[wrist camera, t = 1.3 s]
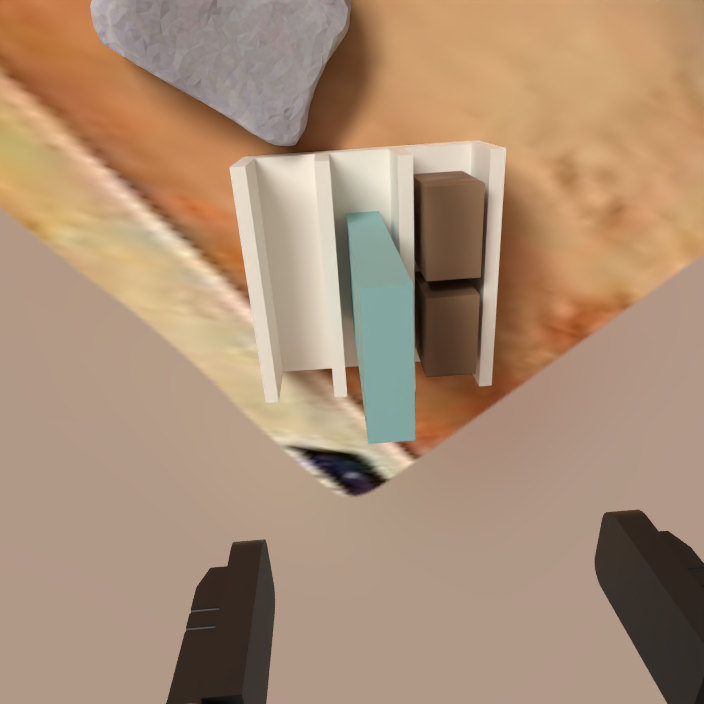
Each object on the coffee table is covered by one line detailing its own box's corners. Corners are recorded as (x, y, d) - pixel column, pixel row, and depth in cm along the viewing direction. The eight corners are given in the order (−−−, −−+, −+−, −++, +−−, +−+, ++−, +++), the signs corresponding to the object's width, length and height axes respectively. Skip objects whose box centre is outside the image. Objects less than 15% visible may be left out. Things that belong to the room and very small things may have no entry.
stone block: (168, -135, 28) (95, 51, 29) (152, -201, 23) (66, 24, 25) (365, 1, 31) (289, 161, 33) (385, -32, 26) (295, 155, 28)
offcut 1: (462, 170, 31) (485, 183, 27) (459, 253, 34) (480, 277, 29) (411, 174, 31) (426, 187, 27) (412, 256, 34) (426, 281, 29)
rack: (478, 140, 32) (506, 147, 27) (470, 348, 38) (491, 385, 33) (244, 156, 32) (229, 167, 27) (273, 363, 38) (265, 402, 33)
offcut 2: (459, 268, 34) (479, 294, 30) (457, 339, 36) (476, 373, 32) (412, 271, 34) (426, 298, 30) (413, 342, 36) (426, 377, 32)
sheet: (378, 210, 32) (413, 284, 20) (382, 317, 35) (415, 440, 23) (345, 213, 32) (359, 288, 20) (352, 319, 35) (368, 443, 23)
